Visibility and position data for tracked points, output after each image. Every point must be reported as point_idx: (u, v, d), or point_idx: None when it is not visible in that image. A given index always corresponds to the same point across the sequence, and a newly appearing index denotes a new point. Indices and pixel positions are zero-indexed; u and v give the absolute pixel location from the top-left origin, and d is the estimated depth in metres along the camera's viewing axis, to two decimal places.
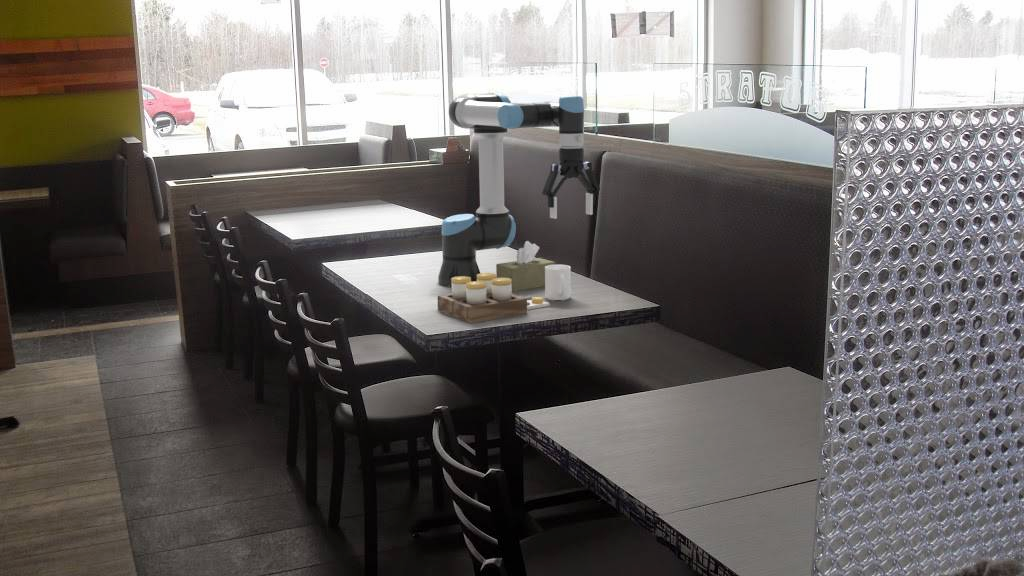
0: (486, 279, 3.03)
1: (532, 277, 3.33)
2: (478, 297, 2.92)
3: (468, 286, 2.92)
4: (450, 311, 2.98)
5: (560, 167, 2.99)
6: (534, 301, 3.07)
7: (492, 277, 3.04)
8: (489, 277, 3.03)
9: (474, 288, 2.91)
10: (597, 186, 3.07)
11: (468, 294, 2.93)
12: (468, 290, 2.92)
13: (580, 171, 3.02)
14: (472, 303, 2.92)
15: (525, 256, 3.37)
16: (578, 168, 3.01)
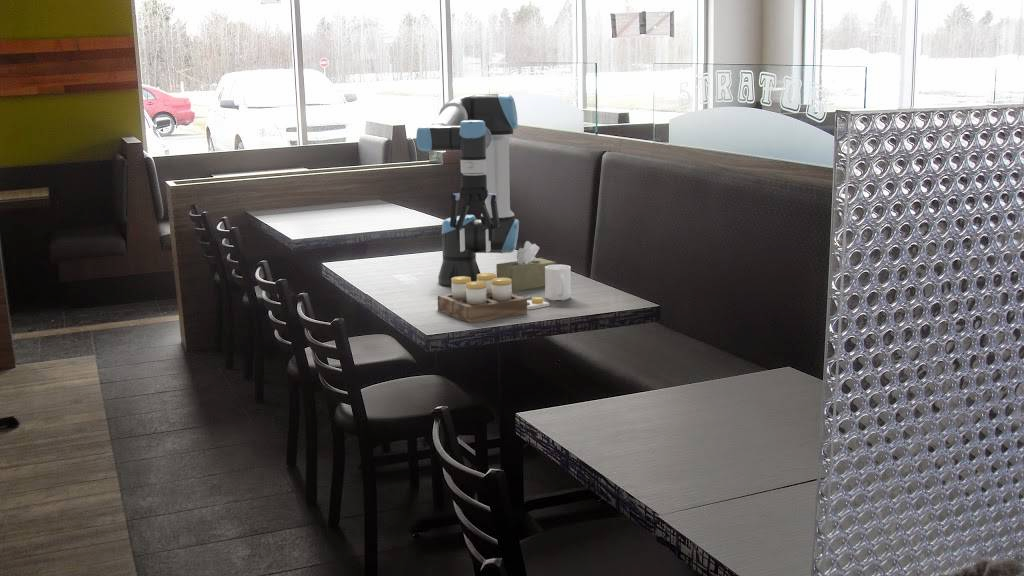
0: (486, 279, 3.03)
1: (532, 277, 3.33)
2: (478, 297, 2.92)
3: (468, 286, 2.92)
4: (450, 311, 2.98)
5: (459, 195, 2.89)
6: (534, 301, 3.07)
7: (492, 277, 3.04)
8: (489, 277, 3.03)
9: (474, 288, 2.91)
10: (494, 222, 2.87)
11: (468, 294, 2.93)
12: (468, 290, 2.92)
13: (478, 200, 2.86)
14: (472, 303, 2.92)
15: (525, 256, 3.37)
16: (476, 196, 2.86)
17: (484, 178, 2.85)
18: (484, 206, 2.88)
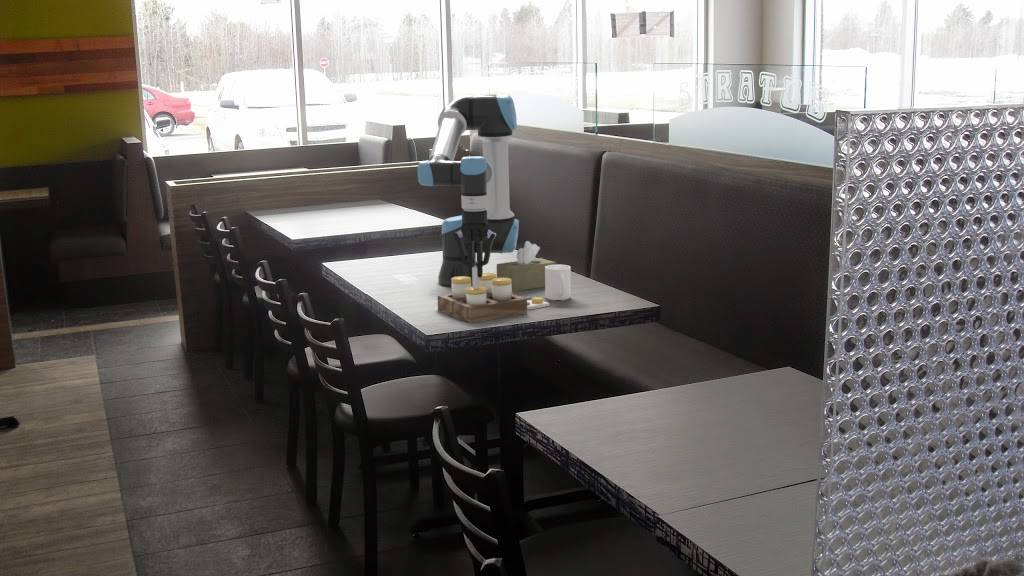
0: (486, 279, 3.03)
1: (532, 277, 3.33)
2: (478, 302, 2.92)
3: (468, 291, 2.92)
4: (450, 311, 2.98)
5: (461, 232, 2.91)
6: (534, 301, 3.07)
7: (492, 277, 3.04)
8: (489, 277, 3.03)
9: (474, 293, 2.91)
10: (484, 259, 2.90)
11: (468, 299, 2.93)
12: (468, 295, 2.93)
13: (477, 236, 2.89)
14: None
15: (525, 256, 3.37)
16: (477, 232, 2.88)
17: (485, 214, 2.87)
18: (481, 243, 2.90)
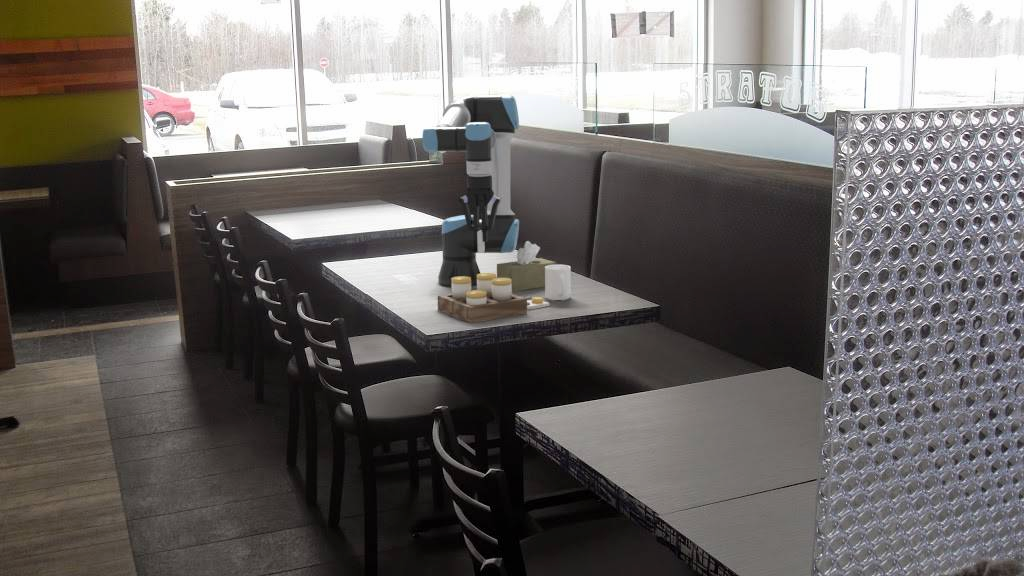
0: (486, 279, 3.03)
1: (532, 277, 3.33)
2: None
3: (468, 295, 2.93)
4: (450, 311, 2.98)
5: (466, 197, 2.95)
6: (534, 301, 3.07)
7: (492, 277, 3.04)
8: (489, 277, 3.03)
9: (474, 297, 2.92)
10: (489, 224, 2.95)
11: (468, 303, 2.93)
12: (468, 299, 2.93)
13: (482, 201, 2.93)
14: None
15: (526, 256, 3.37)
16: (482, 197, 2.93)
17: (489, 179, 2.92)
18: (486, 208, 2.95)
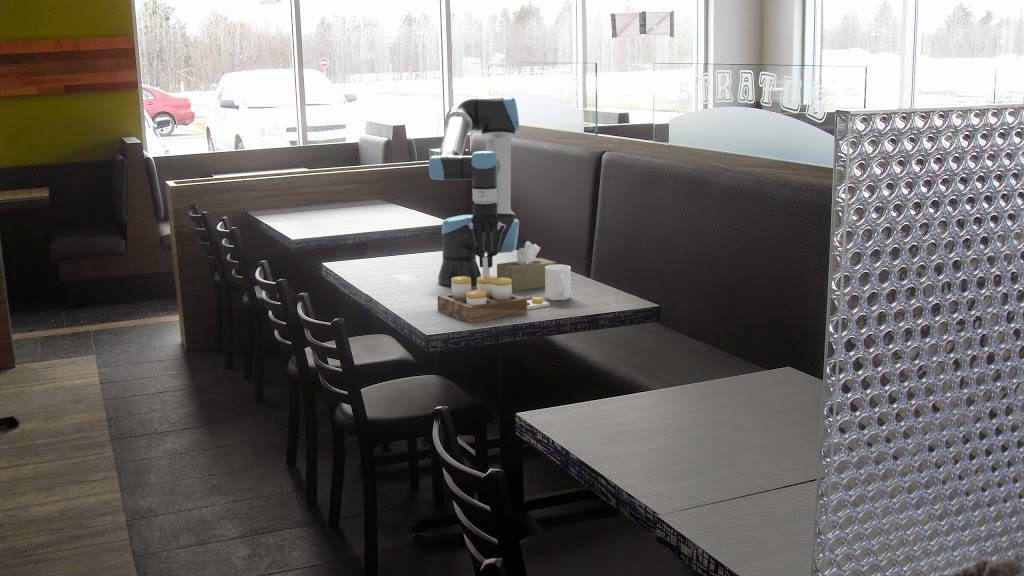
0: (486, 282, 3.03)
1: (532, 277, 3.33)
2: None
3: (468, 295, 2.93)
4: (450, 311, 2.98)
5: (472, 223, 3.03)
6: (534, 301, 3.07)
7: None
8: (489, 280, 3.04)
9: (474, 297, 2.92)
10: (494, 250, 3.02)
11: (468, 303, 2.93)
12: (468, 299, 2.93)
13: (488, 228, 3.01)
14: None
15: (526, 256, 3.37)
16: (487, 223, 3.00)
17: (495, 206, 2.99)
18: (491, 234, 3.02)
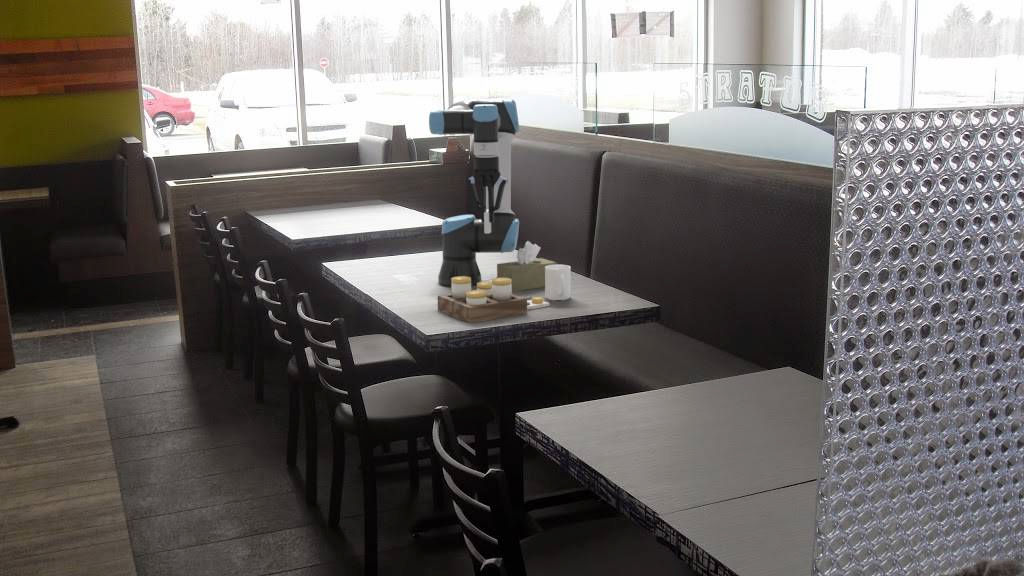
0: (486, 288, 3.04)
1: (532, 277, 3.33)
2: None
3: (468, 295, 2.93)
4: (450, 311, 2.98)
5: (473, 178, 3.00)
6: (534, 301, 3.07)
7: None
8: (489, 286, 3.04)
9: (474, 297, 2.92)
10: (496, 205, 3.00)
11: (468, 303, 2.93)
12: (468, 299, 2.93)
13: (489, 182, 2.98)
14: None
15: (526, 256, 3.37)
16: (489, 177, 2.98)
17: (496, 160, 2.97)
18: (492, 188, 3.00)
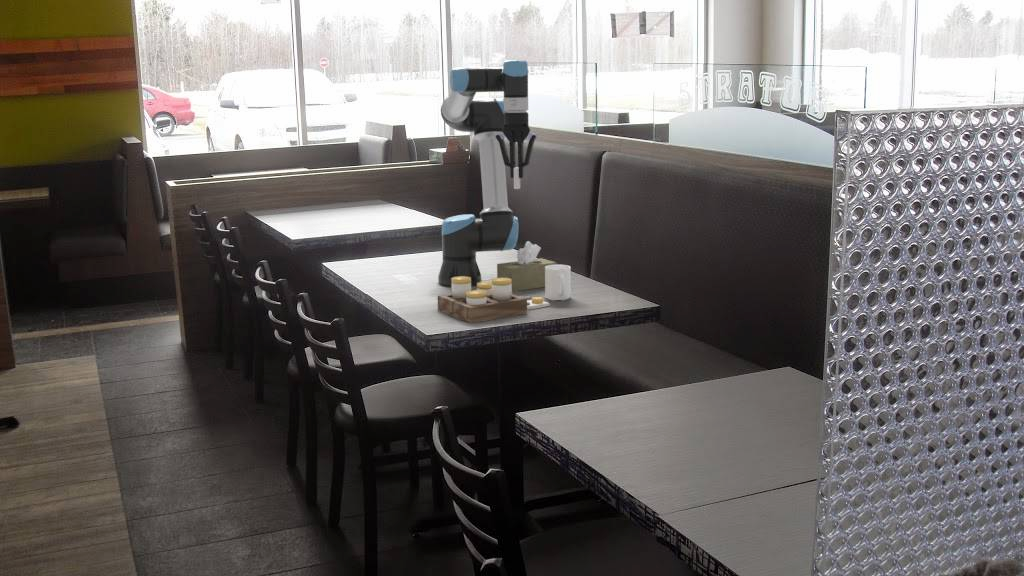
0: (486, 288, 3.04)
1: (532, 277, 3.33)
2: None
3: (468, 295, 2.93)
4: (450, 311, 2.98)
5: (503, 134, 3.03)
6: (534, 301, 3.07)
7: None
8: (489, 286, 3.04)
9: (474, 297, 2.92)
10: (525, 160, 3.02)
11: (468, 303, 2.93)
12: (468, 299, 2.93)
13: (519, 137, 3.00)
14: None
15: (526, 256, 3.37)
16: (519, 133, 3.00)
17: (526, 115, 2.99)
18: (522, 144, 3.02)
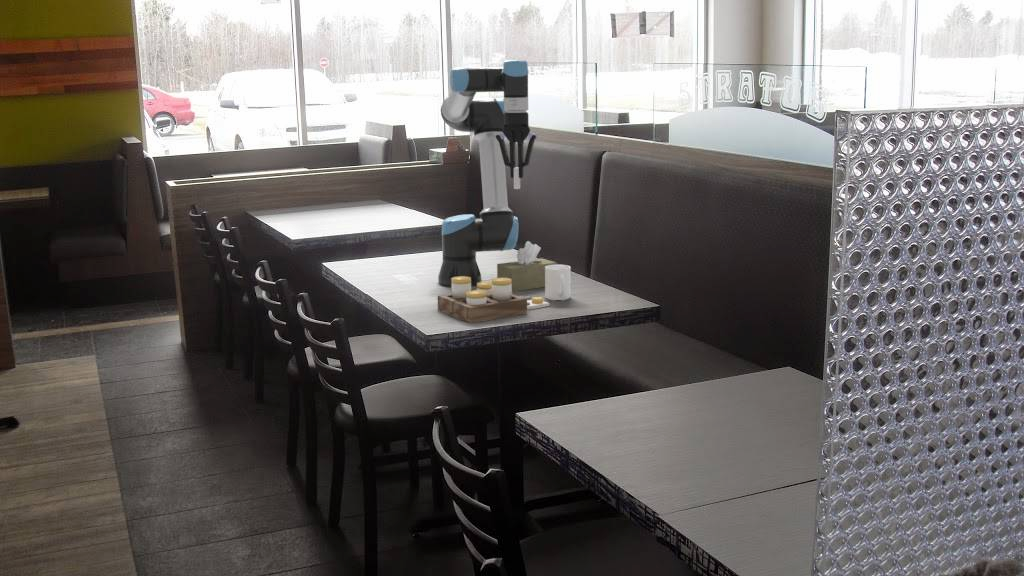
0: (486, 288, 3.04)
1: (532, 277, 3.33)
2: None
3: (468, 295, 2.93)
4: (450, 311, 2.98)
5: (503, 134, 3.03)
6: (534, 301, 3.07)
7: None
8: (489, 286, 3.04)
9: (474, 297, 2.92)
10: (525, 160, 3.02)
11: (468, 303, 2.93)
12: (468, 299, 2.93)
13: (519, 137, 3.01)
14: None
15: (526, 256, 3.37)
16: (519, 133, 3.00)
17: (526, 115, 2.99)
18: (522, 144, 3.02)
